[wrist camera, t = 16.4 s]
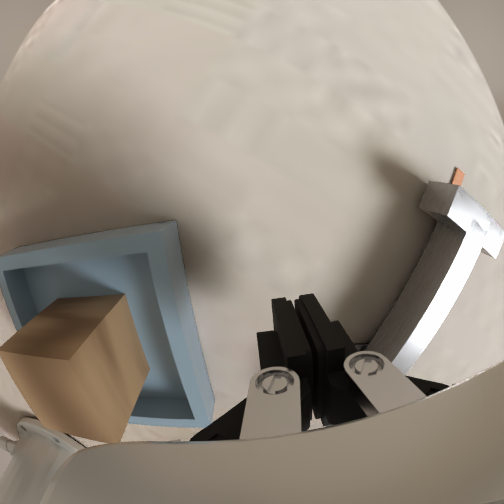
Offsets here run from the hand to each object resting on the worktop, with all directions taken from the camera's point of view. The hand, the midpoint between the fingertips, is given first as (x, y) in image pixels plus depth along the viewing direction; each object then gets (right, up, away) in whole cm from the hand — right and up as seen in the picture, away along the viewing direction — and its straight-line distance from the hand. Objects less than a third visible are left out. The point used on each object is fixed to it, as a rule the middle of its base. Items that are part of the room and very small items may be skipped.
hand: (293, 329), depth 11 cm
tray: (-10, -2, +4) cm, 11 cm away
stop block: (-10, -2, +3) cm, 11 cm away
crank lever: (+7, -1, +4) cm, 8 cm away
